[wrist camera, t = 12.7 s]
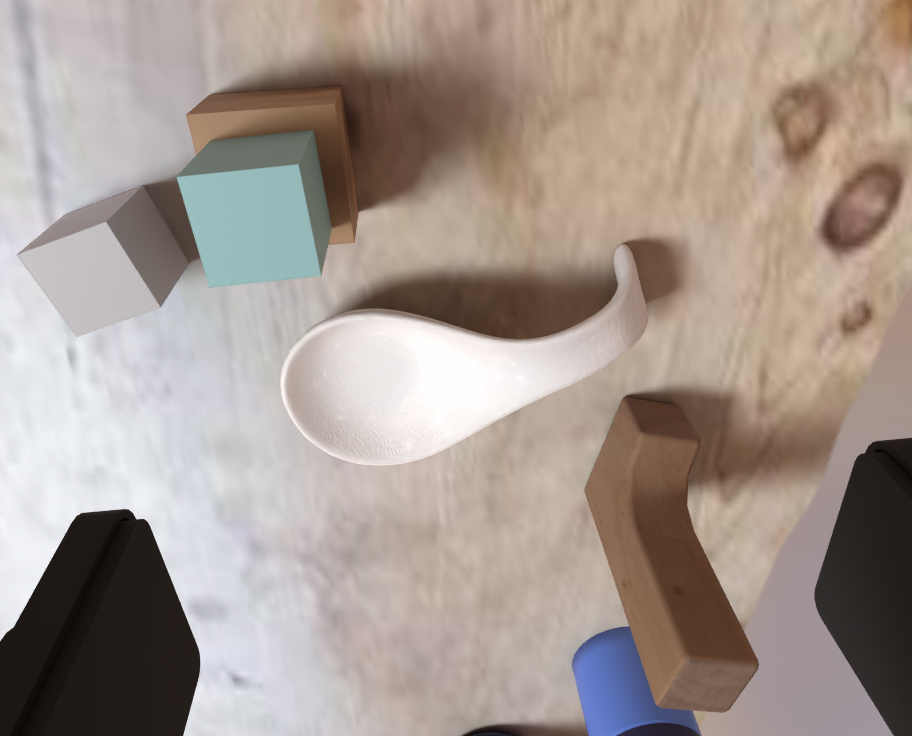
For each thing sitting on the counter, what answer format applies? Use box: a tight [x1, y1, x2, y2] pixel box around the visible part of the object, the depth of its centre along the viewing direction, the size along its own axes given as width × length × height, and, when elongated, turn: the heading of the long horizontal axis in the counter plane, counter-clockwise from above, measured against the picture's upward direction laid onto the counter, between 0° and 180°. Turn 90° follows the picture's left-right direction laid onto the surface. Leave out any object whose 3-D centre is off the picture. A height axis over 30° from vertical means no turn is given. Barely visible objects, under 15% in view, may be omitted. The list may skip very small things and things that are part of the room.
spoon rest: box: [280, 244, 648, 465], centre depth 43 cm, size 24×12×7 cm, turn 111°
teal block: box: [177, 130, 332, 288], centre depth 33 cm, size 5×5×6 cm
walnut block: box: [186, 85, 359, 245], centre depth 37 cm, size 7×7×5 cm
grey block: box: [17, 185, 189, 337], centre depth 38 cm, size 5×5×6 cm
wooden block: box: [585, 397, 759, 713], centre depth 44 cm, size 9×4×18 cm, turn 167°
